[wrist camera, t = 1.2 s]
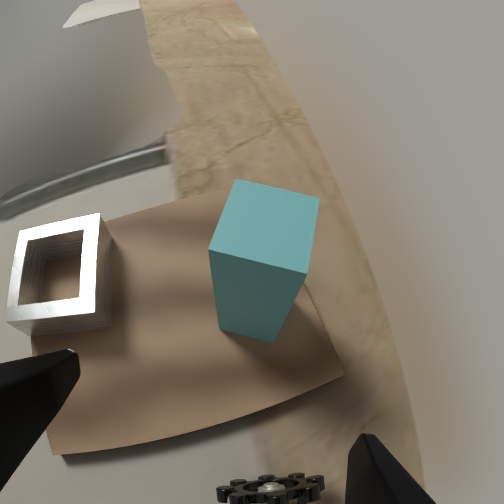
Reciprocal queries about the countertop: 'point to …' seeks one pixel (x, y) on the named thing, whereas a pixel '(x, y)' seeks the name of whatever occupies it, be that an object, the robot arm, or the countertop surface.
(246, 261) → the block
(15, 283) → the collar
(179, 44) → the countertop surface
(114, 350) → the board
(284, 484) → the valve
